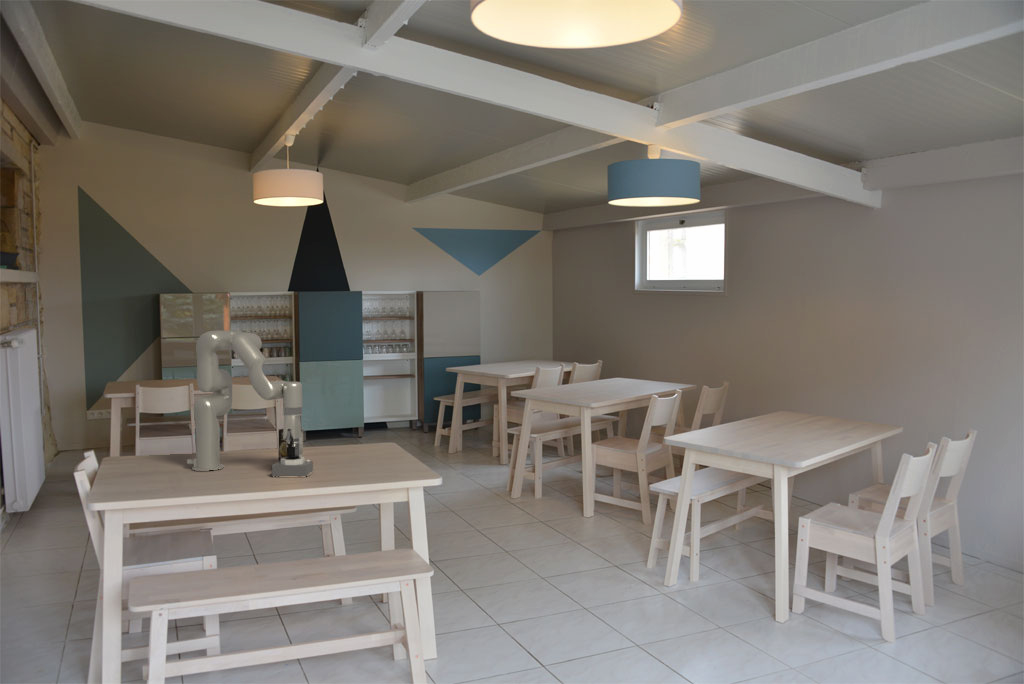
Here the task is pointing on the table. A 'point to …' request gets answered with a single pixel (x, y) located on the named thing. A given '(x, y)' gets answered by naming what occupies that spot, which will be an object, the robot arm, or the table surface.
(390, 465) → the table surface
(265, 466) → the table surface
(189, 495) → the table surface
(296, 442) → the lens
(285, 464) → the camera body
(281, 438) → the coffee box
